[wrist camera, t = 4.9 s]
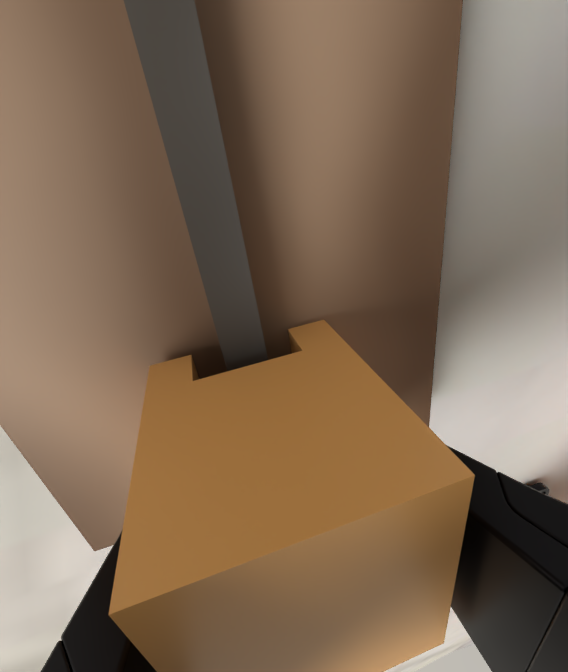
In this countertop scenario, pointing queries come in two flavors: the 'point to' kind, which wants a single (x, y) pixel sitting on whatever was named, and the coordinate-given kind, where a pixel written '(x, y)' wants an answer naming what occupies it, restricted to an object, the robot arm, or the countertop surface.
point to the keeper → (287, 518)
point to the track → (209, 207)
